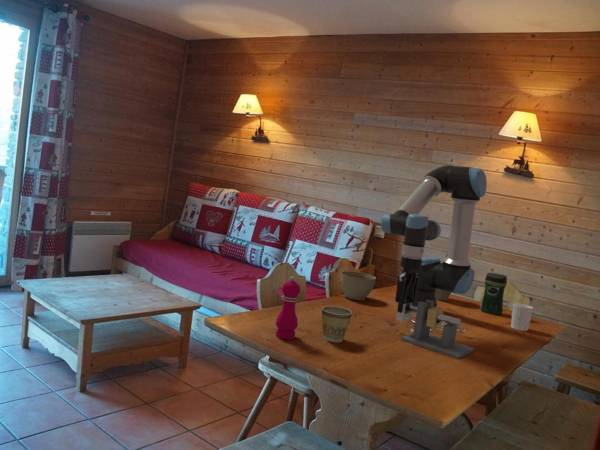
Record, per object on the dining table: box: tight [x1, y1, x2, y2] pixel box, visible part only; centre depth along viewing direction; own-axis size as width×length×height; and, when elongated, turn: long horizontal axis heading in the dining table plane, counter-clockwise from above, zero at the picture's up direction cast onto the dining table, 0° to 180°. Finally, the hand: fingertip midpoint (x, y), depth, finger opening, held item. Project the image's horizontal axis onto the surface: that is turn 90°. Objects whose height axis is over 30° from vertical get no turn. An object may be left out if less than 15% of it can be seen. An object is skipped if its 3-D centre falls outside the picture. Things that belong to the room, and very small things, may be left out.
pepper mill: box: [275, 276, 301, 340], centre depth 172 cm, size 7×7×20 cm
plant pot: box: [435, 289, 452, 302], centre depth 264 cm, size 15×15×16 cm
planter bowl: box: [340, 270, 377, 301], centre depth 242 cm, size 16×16×11 cm
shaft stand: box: [400, 300, 475, 359], centre depth 184 cm, size 21×14×14 cm, turn 51°
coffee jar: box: [480, 272, 508, 316], centre depth 248 cm, size 10×8×19 cm
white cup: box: [510, 302, 534, 332], centre depth 224 cm, size 8×8×10 cm
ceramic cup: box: [321, 305, 357, 343], centre depth 177 cm, size 13×10×10 cm
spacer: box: [426, 306, 445, 329], centre depth 185 cm, size 3×6×6 cm, turn 141°
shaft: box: [405, 300, 462, 327], centre depth 187 cm, size 22×4×4 cm, turn 51°
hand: (402, 319), depth 193 cm, fingers closed on shaft, 4 cm apart
